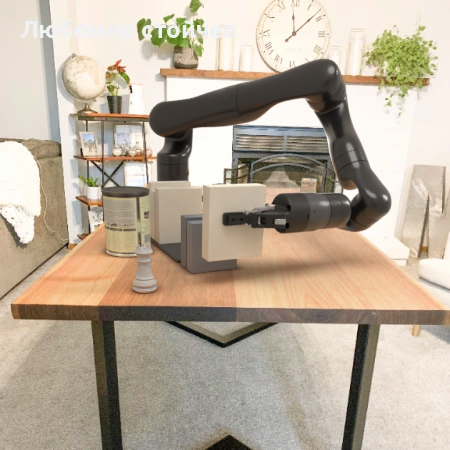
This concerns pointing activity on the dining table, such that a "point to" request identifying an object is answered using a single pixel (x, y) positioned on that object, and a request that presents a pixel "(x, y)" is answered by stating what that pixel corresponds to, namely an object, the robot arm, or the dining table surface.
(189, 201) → the white books
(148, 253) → the rook chess piece
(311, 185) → the supplement box
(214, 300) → the dining table surface
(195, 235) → the grey books
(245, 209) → the white book
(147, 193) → the coffee can
